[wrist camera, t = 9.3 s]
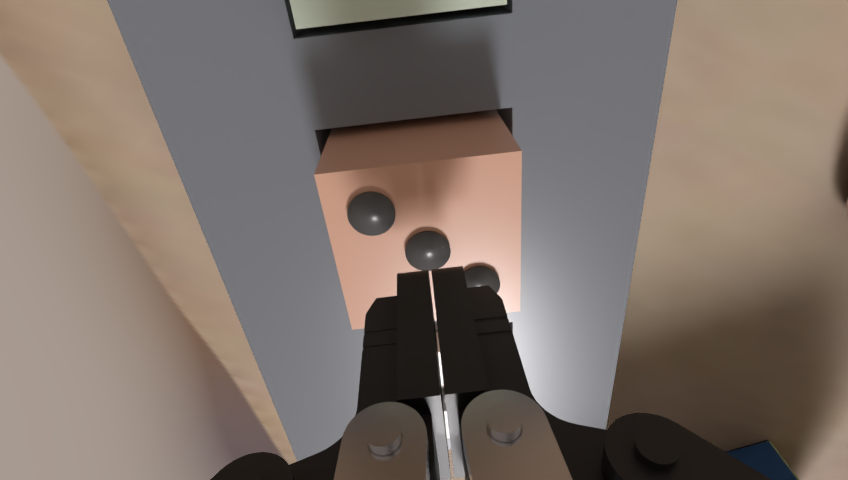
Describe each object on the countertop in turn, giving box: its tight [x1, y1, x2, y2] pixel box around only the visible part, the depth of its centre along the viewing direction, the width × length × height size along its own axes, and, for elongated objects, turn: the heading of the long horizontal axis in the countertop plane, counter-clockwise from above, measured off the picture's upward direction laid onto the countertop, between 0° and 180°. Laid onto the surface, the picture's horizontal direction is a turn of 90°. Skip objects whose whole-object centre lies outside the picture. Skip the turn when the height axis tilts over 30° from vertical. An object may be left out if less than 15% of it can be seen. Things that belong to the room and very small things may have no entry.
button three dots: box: [314, 109, 522, 330], centre depth 14 cm, size 5×5×5 cm
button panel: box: [107, 0, 677, 461], centre depth 16 cm, size 25×14×4 cm, turn 6°
